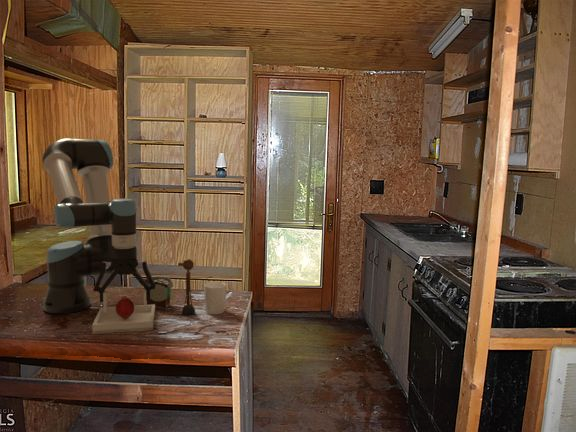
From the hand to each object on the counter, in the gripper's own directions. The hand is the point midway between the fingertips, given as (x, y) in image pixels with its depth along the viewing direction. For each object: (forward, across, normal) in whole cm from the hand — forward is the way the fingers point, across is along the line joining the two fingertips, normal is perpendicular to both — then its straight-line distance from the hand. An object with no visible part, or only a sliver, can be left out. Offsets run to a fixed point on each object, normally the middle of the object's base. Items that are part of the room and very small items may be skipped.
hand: (125, 310), depth 148 cm
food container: (+5, +11, +16) cm, 20 cm away
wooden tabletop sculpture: (+4, +20, +5) cm, 21 cm away
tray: (+4, 0, 0) cm, 4 cm away
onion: (+3, 0, 0) cm, 3 cm away
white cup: (+4, +30, +6) cm, 31 cm away
